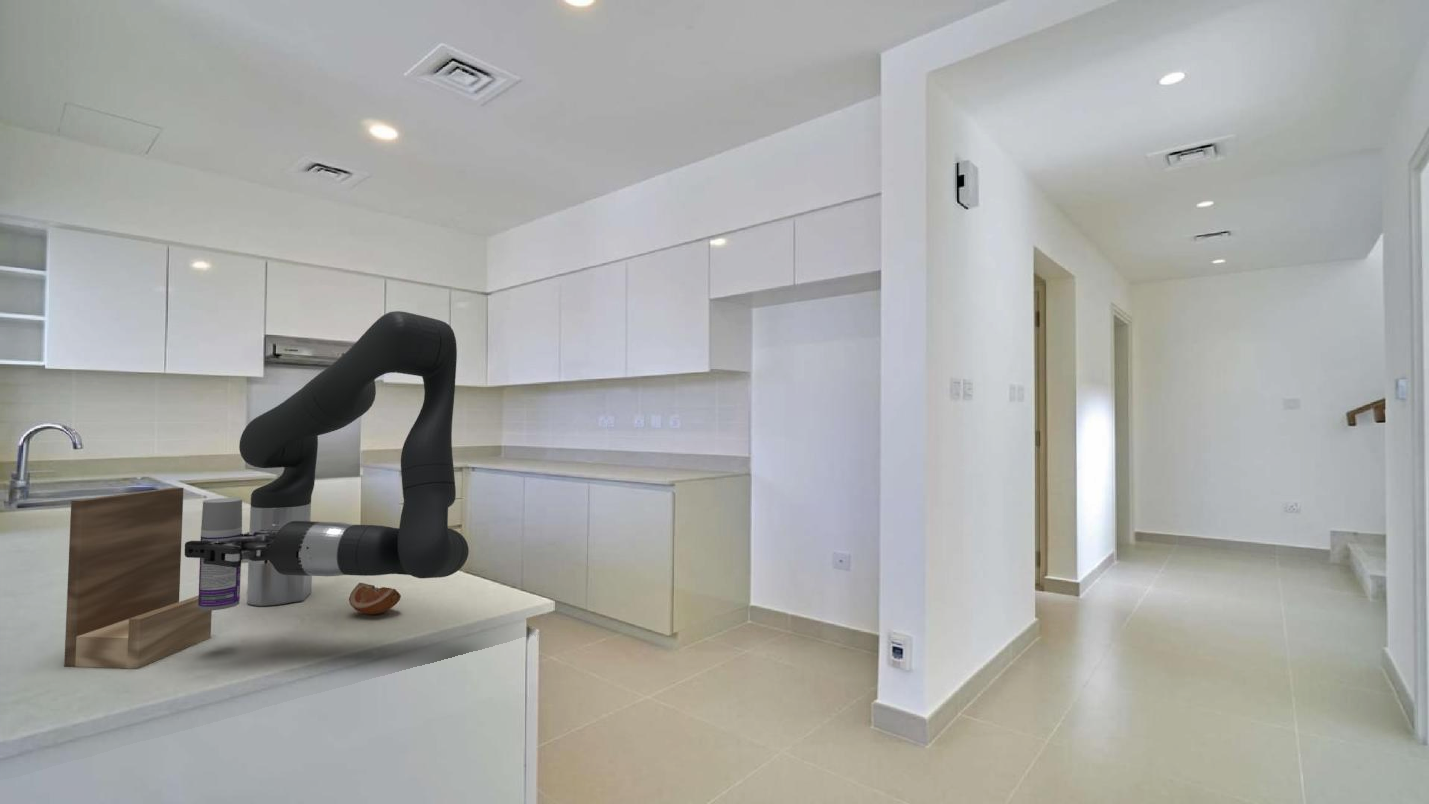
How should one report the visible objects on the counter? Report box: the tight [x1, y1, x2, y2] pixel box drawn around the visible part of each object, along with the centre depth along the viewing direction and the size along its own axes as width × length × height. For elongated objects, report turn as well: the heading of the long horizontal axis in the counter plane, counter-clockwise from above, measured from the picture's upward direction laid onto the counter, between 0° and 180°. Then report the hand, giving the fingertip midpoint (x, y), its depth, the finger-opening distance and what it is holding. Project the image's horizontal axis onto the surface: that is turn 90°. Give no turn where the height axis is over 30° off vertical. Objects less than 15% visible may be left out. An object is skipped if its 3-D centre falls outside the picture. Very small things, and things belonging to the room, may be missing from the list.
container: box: [198, 497, 243, 611], centre depth 91 cm, size 5×5×15 cm
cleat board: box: [63, 487, 213, 670], centre depth 93 cm, size 10×16×22 cm, turn 179°
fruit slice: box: [348, 582, 402, 616], centre depth 110 cm, size 8×7×5 cm
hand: (202, 544), depth 91 cm, fingers closed on container, 4 cm apart
